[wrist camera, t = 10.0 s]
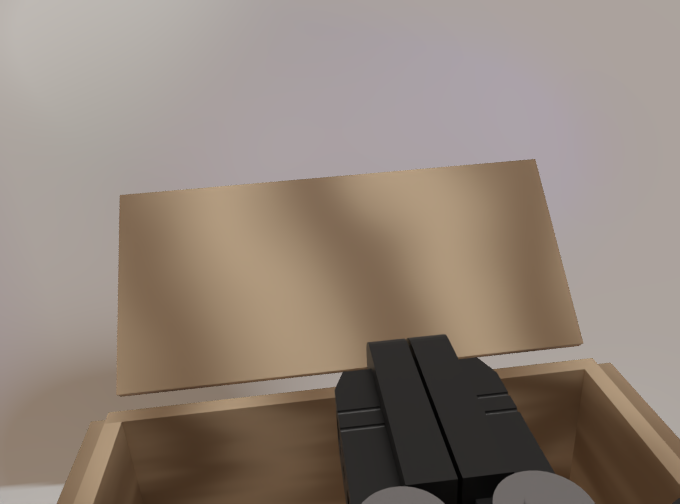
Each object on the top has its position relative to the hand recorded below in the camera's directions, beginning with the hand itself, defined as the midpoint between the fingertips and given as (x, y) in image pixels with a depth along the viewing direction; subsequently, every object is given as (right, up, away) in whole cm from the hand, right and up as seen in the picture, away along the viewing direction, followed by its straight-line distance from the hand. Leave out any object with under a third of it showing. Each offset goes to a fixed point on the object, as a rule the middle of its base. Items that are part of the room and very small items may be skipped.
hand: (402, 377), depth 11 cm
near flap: (-1, +2, +12) cm, 12 cm away
